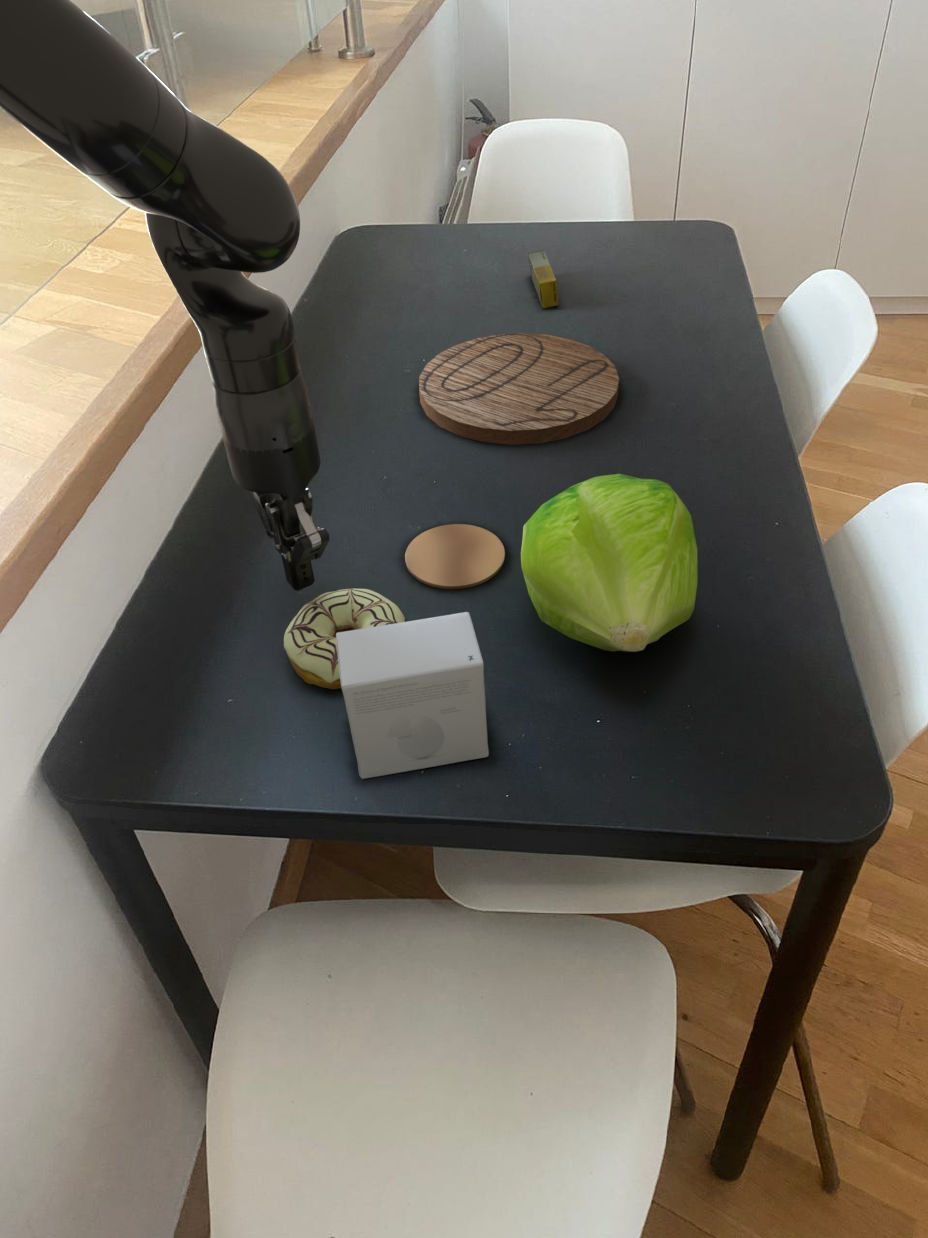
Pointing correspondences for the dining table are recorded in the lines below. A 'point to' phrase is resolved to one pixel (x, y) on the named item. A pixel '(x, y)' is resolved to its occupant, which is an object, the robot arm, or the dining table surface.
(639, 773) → the dining table surface
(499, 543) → the cork coaster
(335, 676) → the decorated donut
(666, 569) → the lettuce
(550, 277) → the medication box
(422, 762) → the cosmetics box
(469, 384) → the trivet
